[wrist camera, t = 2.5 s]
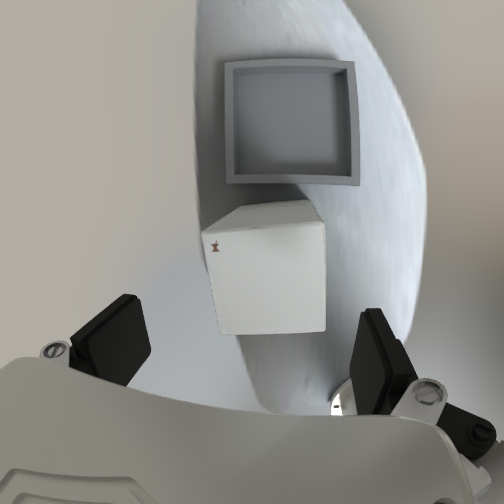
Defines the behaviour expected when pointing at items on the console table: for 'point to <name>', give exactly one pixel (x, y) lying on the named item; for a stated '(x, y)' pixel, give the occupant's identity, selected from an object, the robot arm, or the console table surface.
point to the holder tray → (292, 122)
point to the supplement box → (268, 269)
